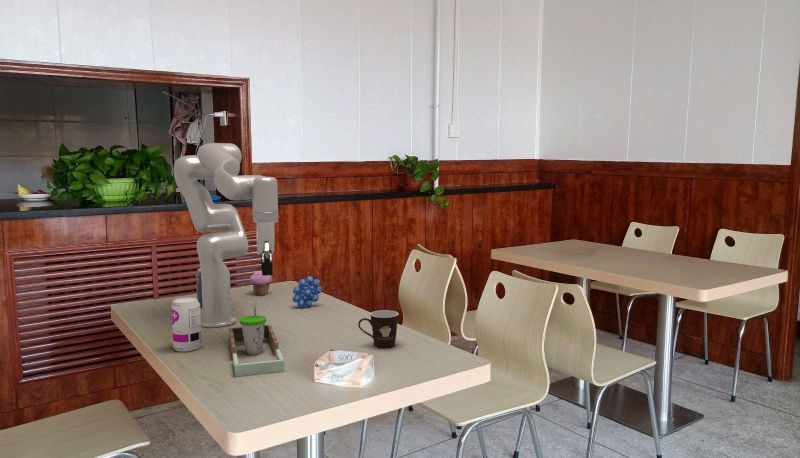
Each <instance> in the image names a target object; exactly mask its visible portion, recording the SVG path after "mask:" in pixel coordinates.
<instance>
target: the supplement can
mask: <svg viewBox="0 0 800 458" xmlns="http://www.w3.org/2000/svg"><path fill="white" fill-rule="evenodd" d="M170 307H171V308H170V310H171V311H170V312H171V327H172V328H171V329H172V331H171V332H172V348H173V349H174V350H175V351H177V352H180V353H181V352H182V353H183V352H184V353H185V352H186V353H187V352H193V351H197V350H198V349H200V347H202V345H203V342H202V341H203V340H202V326H201V316H200V309H201V307H200V303H199V302H198V299H197V297H192V296H191V297H189V296H187V297H180V298H175V299H173V300H172V303H171V306H170Z"/></svg>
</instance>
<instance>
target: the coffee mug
mask: <svg viewBox="0 0 800 458" xmlns="http://www.w3.org/2000/svg"><path fill="white" fill-rule="evenodd" d="M369 315H370V319H369V318H367V317H363V318H360V320H358V323H357V324H358V325H357V326H358V328H359V329H360V330H361V332H363V333H364V334H365V335H368V336H369V337H371V339H372V340H373V346H374V347H375V348H377V349H381V348H382V350H385V349H386V348H388V349H392V347H393V348H394V347H395V346H396V340H397V330H398V323H399V312H397V311H395V310H389V309H387V310H386V309H384V310H383V309H382V310H375V311H372V312H370V314H369ZM363 321H367V322H368V323H369V324H370V325H371V330H372V331H371V332H372V333H369V332H368V331H366V330H364V329H363V328H362V327H361V324H362V322H363Z"/></svg>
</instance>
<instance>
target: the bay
mask: <svg viewBox="0 0 800 458" xmlns="http://www.w3.org/2000/svg"><path fill="white" fill-rule="evenodd" d="M275 357H276V358H275V360H267V361H266V360H265V361H256V362H246V363H239V358H238V355H237V352H236V353H235V354H233V360H232V365H233V371H234V376H237V377H244V375H246V376H253V375H252V374H255V375H263V374H262V373H264V374H272V373H271V372H274V373H281V371H283V372H285V360H284V357H283V354H282V352H281V349H280V348H278V349H276V356H275Z"/></svg>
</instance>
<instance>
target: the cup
mask: <svg viewBox="0 0 800 458" xmlns="http://www.w3.org/2000/svg"><path fill="white" fill-rule="evenodd" d="M257 302H258V300H257V299H256V300H254V304H253V315H248V316H243V317H241V318H239V324H240V325H241V327H242V330H243V336H244V342H245V345H244V346H245V347H244V348H245V353H246V355H248V356H257V355H260V354H261V353H262V352H263V344H264V343H263V337H264V327H265V325H266V323H267V316H264V315H257V304H258V303H257Z"/></svg>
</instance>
